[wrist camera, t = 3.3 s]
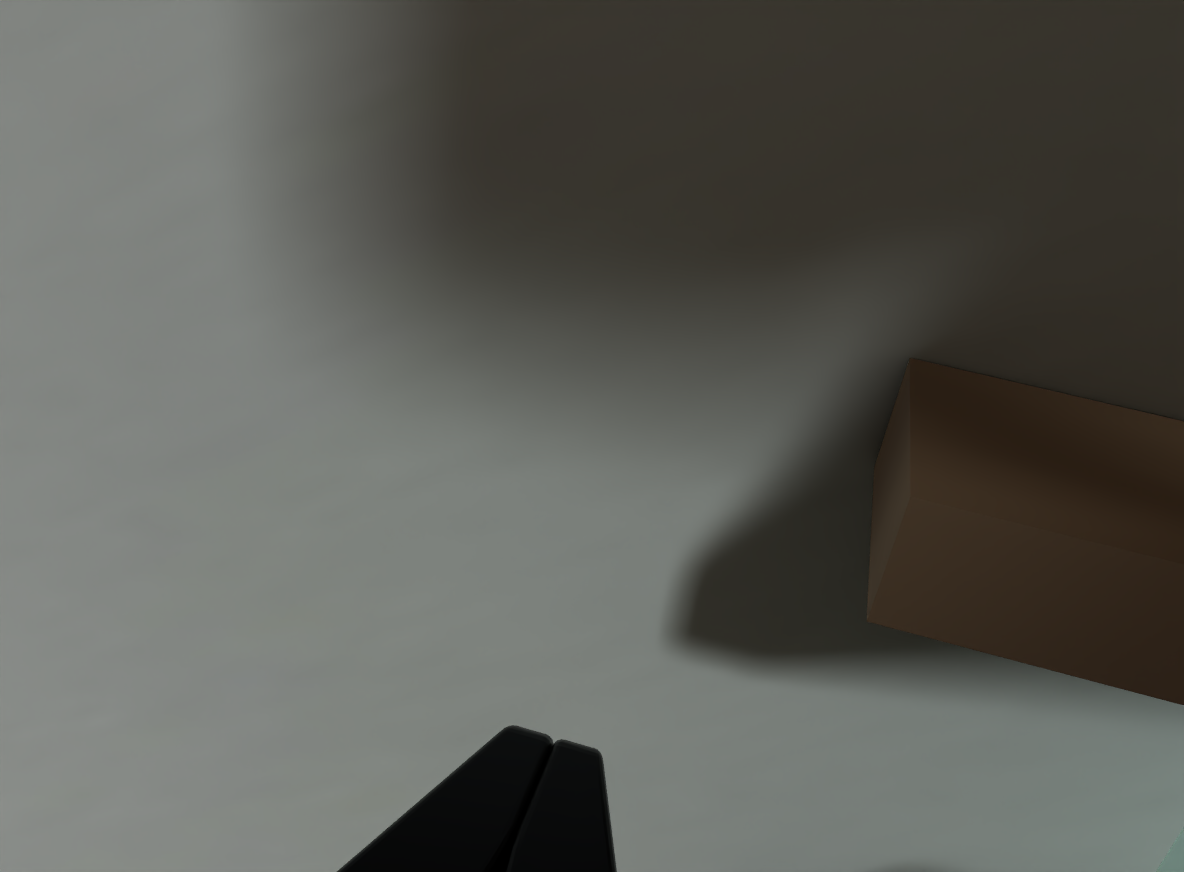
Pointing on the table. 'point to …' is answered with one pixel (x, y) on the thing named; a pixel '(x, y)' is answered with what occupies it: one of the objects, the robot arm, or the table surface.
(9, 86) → the table surface
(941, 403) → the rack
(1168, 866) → the block
